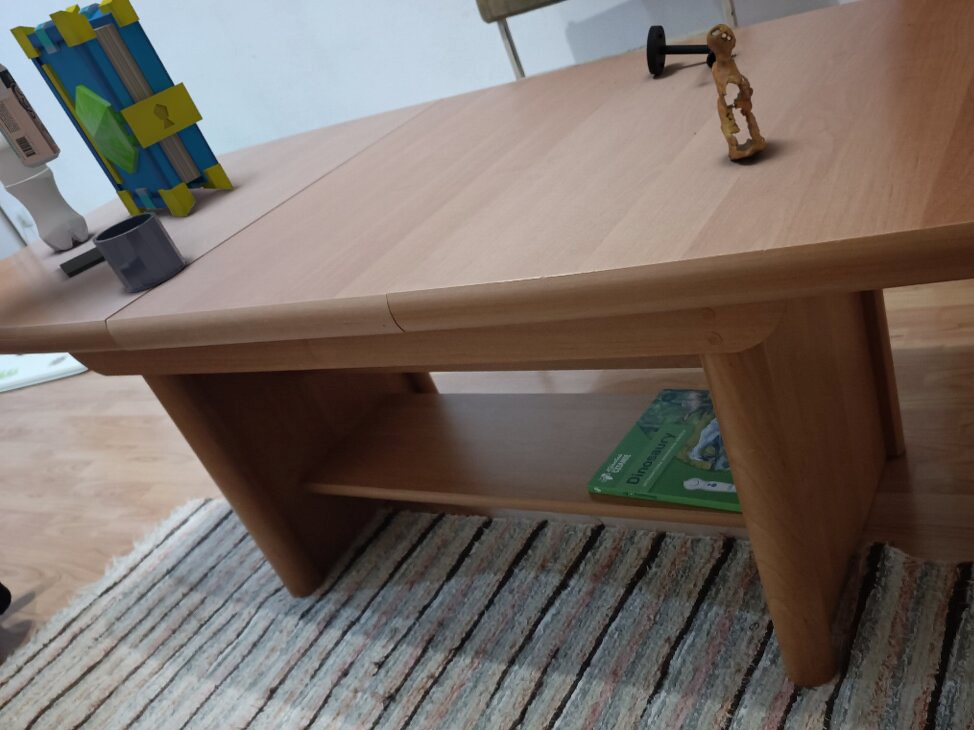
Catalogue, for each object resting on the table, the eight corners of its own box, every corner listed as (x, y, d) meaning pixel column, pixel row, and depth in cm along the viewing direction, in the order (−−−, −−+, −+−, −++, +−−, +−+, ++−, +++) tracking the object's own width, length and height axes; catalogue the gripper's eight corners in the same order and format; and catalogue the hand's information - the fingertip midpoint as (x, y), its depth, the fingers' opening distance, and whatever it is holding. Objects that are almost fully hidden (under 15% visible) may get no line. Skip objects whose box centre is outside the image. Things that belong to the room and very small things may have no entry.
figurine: (776, 138, 85) (753, 8, 78) (764, 162, 81) (738, 28, 74) (731, 146, 87) (704, 20, 80) (717, 170, 83) (687, 40, 76)
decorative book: (177, 223, 132) (47, 15, 114) (114, 221, 146) (-9, 36, 129) (251, 181, 139) (140, -21, 122) (185, 183, 154) (77, 3, 136)
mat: (70, 277, 125) (67, 273, 125) (61, 268, 131) (59, 264, 131) (122, 251, 128) (119, 247, 128) (112, 243, 134) (109, 240, 134)
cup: (133, 297, 108) (98, 246, 104) (121, 285, 114) (87, 237, 110) (192, 266, 111) (161, 215, 107) (177, 256, 117) (146, 208, 113)
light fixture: (716, 50, 103) (735, 17, 112) (631, 52, 106) (656, 19, 115) (717, 100, 107) (735, 64, 116) (634, 100, 110) (658, 65, 119)
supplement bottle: (69, 153, 113) (7, 57, 106) (36, 168, 110) (-30, 71, 103) (53, 155, 115) (-9, 62, 109) (20, 171, 113) (-45, 76, 106)
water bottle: (59, 256, 138) (-55, 99, 124) (46, 252, 143) (-64, 101, 129) (100, 234, 141) (-5, 79, 127) (87, 231, 146) (-16, 82, 132)
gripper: (-108, -7, 107) (-30, 106, 114) (-109, -19, 91) (-19, 111, 99) (-55, -24, 109) (18, 87, 117) (-47, -40, 94) (36, 89, 102)
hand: (2, 98), depth 108 cm, fingers closed on supplement bottle, 5 cm apart
